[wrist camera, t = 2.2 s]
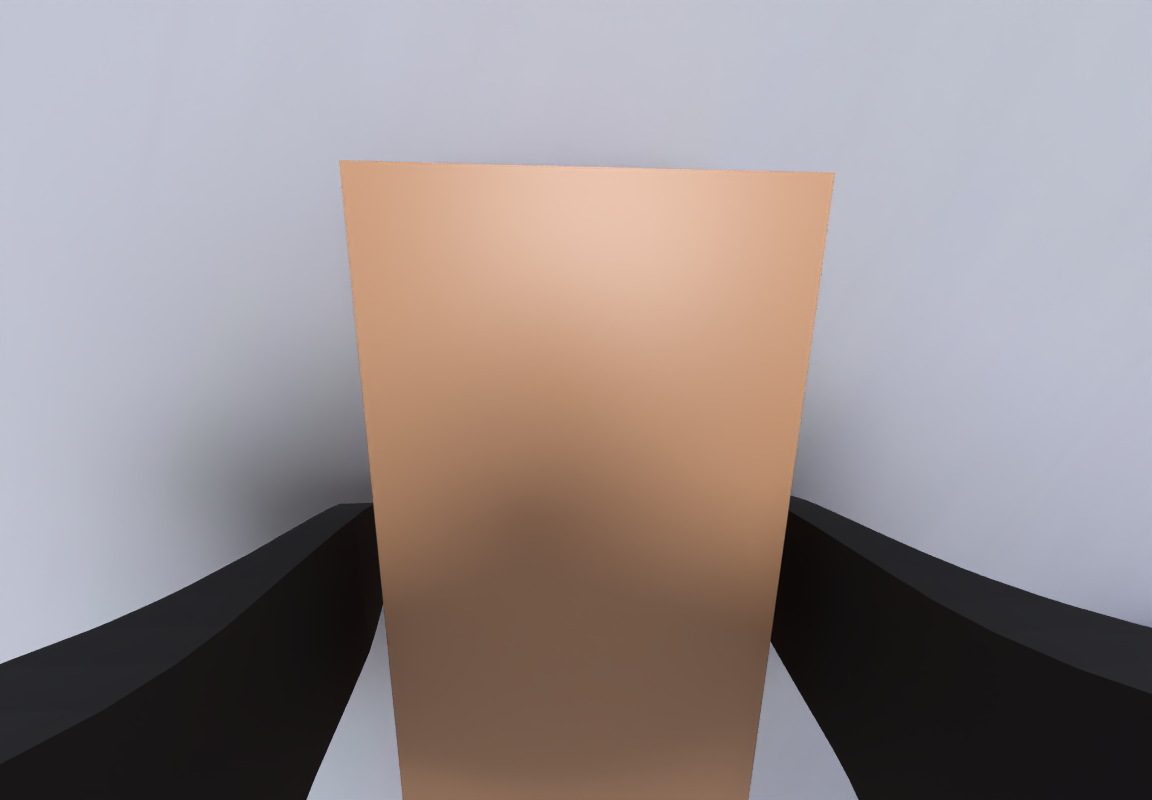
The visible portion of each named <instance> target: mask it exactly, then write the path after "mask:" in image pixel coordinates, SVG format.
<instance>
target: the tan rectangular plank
mask: <svg viewBox="0 0 1152 800" xmlns="http://www.w3.org/2000/svg"><path fill="white" fill-rule="evenodd" d="M339 163H340V173H341V183H342V193H343V203H344V213H345V223H346V233H347V243H348V253H349V263H350V273H351V283H352V293H353V303H354V313H355V323H356V333H357V343H358V354H359V364H360V374H361V384H362V394H363V404H364V414H365V424H366V434H367V444H368V454H369V464H370V474H371V484H372V494H373V504H374V514H375V524H376V534H377V545H378V555H379V565H380V575H381V585H382V595H383V605H384V615H385V625H386V635H387V645H388V655H389V665H390V675H391V685H392V695H393V705H394V715H395V725H396V736H397V746H398V756H399V766H400V776H401V786H402V796H403V800H748V798H749V791H750V784H751V777H752V769H753V762H754V755H755V748H756V741H757V733H758V726H759V719H760V712H761V704H762V697H763V690H764V683H765V676H766V668H767V661H768V654H769V647H770V639H771V632H772V625H773V618H774V610H775V603H776V596H777V589H778V582H779V574H780V567H781V560H782V553H783V545H784V538H785V531H786V524H787V517H788V509H789V502H790V495H791V488H792V480H793V473H794V466H795V459H796V451H797V444H798V437H799V430H800V423H801V415H802V408H803V401H804V394H805V386H806V379H807V372H808V365H809V358H810V350H811V343H812V336H813V329H814V321H815V314H816V307H817V300H818V293H819V285H820V278H821V271H822V264H823V256H824V249H825V242H826V235H827V227H828V220H829V213H830V206H831V199H832V191H833V184H834V177H835V173H823V172H783V171H743V170H703V169H663V168H623V167H582V166H542V165H502V164H462V163H422V162H382V161H342V160H339Z"/></svg>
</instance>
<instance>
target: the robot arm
mask: <svg viewBox="0 0 1152 800" xmlns="http://www.w3.org/2000/svg"><path fill="white" fill-rule="evenodd" d="M382 606H383V595H382V585H381V575H380V565H379V555H378V545H377V534H376V524H375V514H374V504H373V503H357V504H339V505H336V506H334V507H332V508H330V509H328V510H326V511H324V512H322V513H320V514H318V515H316V516H314V517H313V518H311V519H309V520H307V521H306V522H304V523H302V524H300V525H299V526H297V527H295V528H293V529H292V530H290V531H288V532H286V533H285V534H283V535H281V536H279V537H278V538H276V539H274V540H272V541H271V542H269V543H267V544H265V545H264V546H262V547H260V548H258V549H257V550H255V551H253V552H251V553H250V554H248V555H246V556H244V557H242V558H240V559H238V560H237V561H235V562H233V563H231V564H229V565H227V566H225V567H223V568H221V569H220V570H218V571H216V572H214V573H212V574H210V575H208V576H206V577H204V578H203V579H201V580H199V581H197V582H195V583H193V584H191V585H189V586H187V587H185V588H183V589H181V590H179V591H177V592H175V593H173V594H171V595H169V596H167V597H164V598H162V599H160V600H158V601H156V602H154V603H152V604H149V605H147V606H145V607H143V608H140V609H138V610H136V611H133V612H131V613H129V614H127V615H124V616H122V617H120V618H118V619H115V620H113V621H111V622H108V623H106V624H104V625H101V626H99V627H96V628H94V629H91V630H89V631H86V632H84V633H81V634H78V635H76V636H73V637H70V638H68V639H65V640H62V641H60V642H57V643H54V644H52V645H49V646H47V647H44V648H41V649H39V650H36V651H33V652H31V653H28V654H25V655H23V656H20V657H17V658H15V659H12V660H9V661H7V662H4V663H2V664H0V800H306V799H307V797H308V794H309V792H310V789H311V787H312V784H313V781H314V779H315V776H316V774H317V772H318V770H319V767H320V765H321V763H322V760H323V758H324V756H325V754H326V751H327V749H328V747H329V744H330V742H331V740H332V738H333V735H334V733H335V731H336V728H337V726H338V724H339V722H340V719H341V717H342V715H343V712H344V710H345V708H346V706H347V703H348V701H349V699H350V696H351V694H352V692H353V689H354V687H355V685H356V682H357V680H358V678H359V675H360V673H361V671H362V668H363V666H364V664H365V661H366V659H367V656H368V654H369V652H370V649H371V645H372V642H373V639H374V635H375V632H376V629H377V625H378V621H379V618H380V614H381V610H382ZM770 641H771V643H772V645H773V647H774V648H775V650H776V652H777V654H778V655H779V657H780V659H781V661H782V662H783V664H784V666H785V668H786V669H787V671H788V673H789V675H790V676H791V678H792V680H793V681H794V683H795V685H796V687H797V688H798V690H799V692H800V693H801V695H802V697H803V699H804V700H805V702H806V704H807V705H808V707H809V709H810V711H811V712H812V714H813V716H814V717H815V719H816V721H817V722H818V724H819V726H820V728H821V729H822V731H823V733H824V734H825V736H826V738H827V740H828V741H829V743H830V745H831V746H832V748H833V750H834V752H835V754H836V756H837V757H838V759H839V761H840V763H841V765H842V767H843V769H844V771H845V772H846V774H847V776H848V778H849V780H850V782H851V784H852V787H853V789H854V791H855V793H856V795H857V797H858V799H859V800H1152V628H1150V627H1146V626H1142V625H1138V624H1135V623H1131V622H1128V621H1124V620H1120V619H1117V618H1113V617H1110V616H1106V615H1103V614H1099V613H1096V612H1092V611H1088V610H1085V609H1081V608H1078V607H1074V606H1071V605H1068V604H1065V603H1061V602H1058V601H1055V600H1052V599H1048V598H1045V597H1042V596H1039V595H1036V594H1033V593H1030V592H1027V591H1024V590H1021V589H1019V588H1016V587H1013V586H1010V585H1007V584H1004V583H1001V582H998V581H995V580H992V579H989V578H987V577H984V576H981V575H979V574H976V573H973V572H971V571H968V570H965V569H963V568H960V567H958V566H955V565H953V564H951V563H948V562H946V561H943V560H941V559H938V558H936V557H933V556H931V555H929V554H926V553H924V552H921V551H919V550H917V549H914V548H912V547H910V546H907V545H905V544H903V543H901V542H898V541H896V540H894V539H892V538H889V537H887V536H885V535H883V534H881V533H878V532H876V531H874V530H872V529H870V528H867V527H865V526H863V525H861V524H859V523H856V522H854V521H852V520H850V519H848V518H846V517H843V516H841V515H839V514H837V513H835V512H832V511H830V510H828V509H826V508H823V507H821V506H819V505H816V504H814V503H811V502H809V501H806V500H803V499H801V498H797V497H794V496H791V495H790V502H789V509H788V517H787V524H786V531H785V538H784V545H783V553H782V560H781V567H780V574H779V582H778V589H777V596H776V603H775V610H774V618H773V625H772V632H771V639H770Z"/></svg>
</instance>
